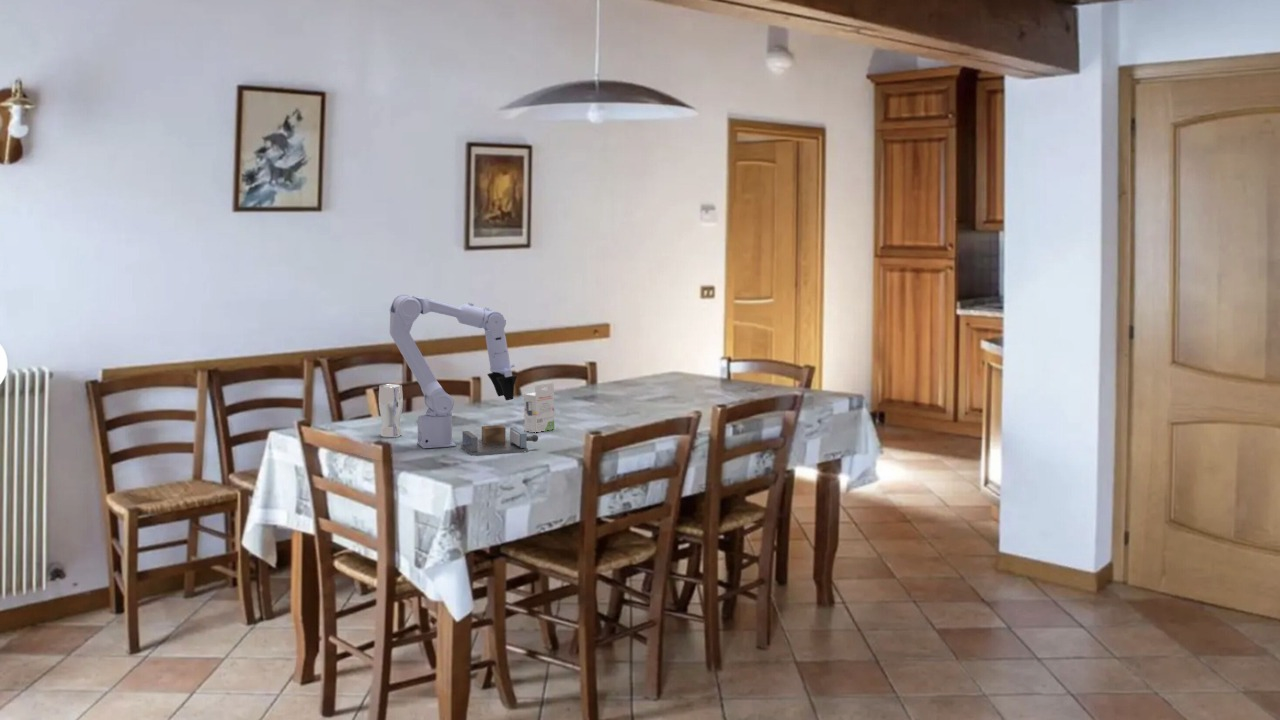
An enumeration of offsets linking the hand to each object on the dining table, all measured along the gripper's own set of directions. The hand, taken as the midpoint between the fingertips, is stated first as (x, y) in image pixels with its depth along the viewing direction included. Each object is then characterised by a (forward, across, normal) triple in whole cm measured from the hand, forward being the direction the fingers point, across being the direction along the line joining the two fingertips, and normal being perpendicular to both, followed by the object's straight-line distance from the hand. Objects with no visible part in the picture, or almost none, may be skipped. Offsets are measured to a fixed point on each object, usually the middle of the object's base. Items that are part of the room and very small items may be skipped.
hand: (505, 397), depth 331 cm
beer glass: (+8, +18, +31) cm, 37 cm away
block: (+12, 0, +6) cm, 13 cm away
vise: (+11, -11, +9) cm, 18 cm away
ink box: (+15, +12, -12) cm, 23 cm away
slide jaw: (+12, -11, 0) cm, 16 cm away
